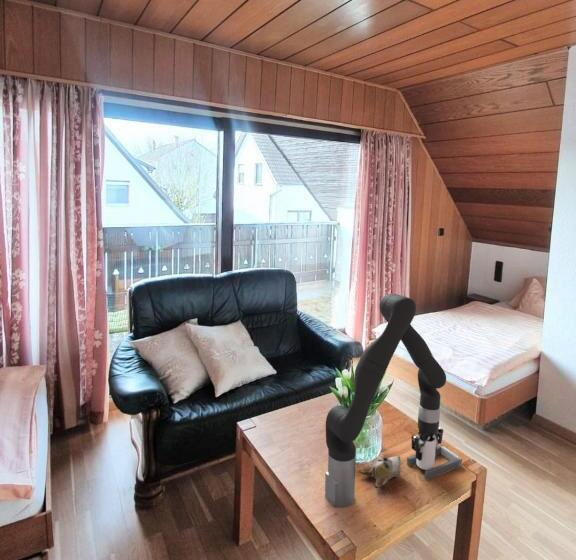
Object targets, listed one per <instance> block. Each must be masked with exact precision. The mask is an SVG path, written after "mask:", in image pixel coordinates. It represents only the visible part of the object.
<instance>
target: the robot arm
mask: <svg viewBox="0 0 576 560" xmlns="http://www.w3.org/2000/svg"><path fill="white" fill-rule="evenodd" d="M378 309H379V311H380V315H382V317H383V318H384V320H385V321H386V322H387V324H386V327H385V328H384V330H383V332H382V333H381V334H380V335H379V337H377V338H376V339H375V340H374V341H372V343H370V344H369V345H368V346H367V347H366V348H365V350H363V353H362V354H361V356H360V359H359V360H358V362H357V364H356V367H355V370H354V382H353V383H354V392H353V399H352V400H351V404H350V406H349V408H347V407H346V406H344V405H339V404H337V405H335V406H333V407H331V409H330V410H329V411H328V412H327V415H326V419H325V443H326V447H327V450H328V451H327V456H328V457H327V471H326V472H325V479H324V482H325V483H324V484H325V485H324V497H325V498H326V500H327V501H328V502H329V503H330V504H331V505H332V506H333V508H337V507H338V508H345V507H350V506H351V505H352V504H353V503H354V502H355V487H356V485H355V484H356V462H357V461H356V460H357V459H356V458H357V457H356V456H357V450H356V449H357V448H356V444H355V443H354V442H355V440H357V438H358V436H359V435H360V433H361V431H362V429H363V427H364V425H365V422H366V419H367V416H368V413H369V410H370V407H371V405H372V403H373V400H374V398H375V395H376V393H377V390H378V388H379V386H380V384H381V382H382V380H383V378H384V376H385V374H386V372H387V370H388V368H389V365H390V362H391V360H392V358H393V356H394V354H395V352H396V350H397V348H398V347H399V344H400V342H402V344H403V346H404V347H405V349H406V350H407V352H408V354H409V357H410V358H411V361H412V363H414V365H415V366H416V367H417V368H418V370H417V383H418V387H419V392H420V396H419V406H418V415H417V428H418V433H417V434H416V435H415V434H412V435H411V449H412V451H414V452H415V455H416V458H417V459H418V460H419V461H421V460H422V450H423V447H425V444H426V441H429V439H435V441H436V449H437V446H439V444H440V445H442V441H443V435H444V429H443V428H441V427H440V418H441V417H440V416H441V410H440V409H441V408H440V407H441V393H440V392H439V391H438V389H442V388H443V387H444V386H445V384H446V383H447V375H446V372H445V370H444V368H443V367H442V366H441V365H440V363H439V362H438V361H437V360H436V358H435V357H434V356H433V353H432V352H431V350H430V348H429V345H428V343H427V342H426V341H425V339H424V338H423V337H422V336H421V335H420V334H419V333H418V332H419V331H418V332H417V330H416V329H415V328H414V327H413V325H411V323H412V322H413V320H414V319H415V315H416V311H417V310H416V309H417V306H416V303H415V300H414V299H412V298H410V297H408V296H404V295H400V294H396V293H388V294H385V295H384V296H382V298H381V300H380V302H379V308H378ZM419 440H422V441H423V442H424V443H423V444H422V443H420V442H419ZM424 440H425V441H424ZM419 445H421V447H420V448H419ZM435 455H436V450H435ZM436 456H437V455H436Z"/></svg>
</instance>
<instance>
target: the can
mask: <svg viewBox="0 0 576 560" xmlns="http://www.w3.org/2000/svg"><path fill="white" fill-rule="evenodd" d="M424 441H425V440H424ZM419 442H420V443H422V444H423V443H424V442H423V441H422V440H419ZM420 447H421V445H419V448H420ZM435 450H436V441H435V439H429V441H426V444H425V447H423V450H422V460H421V461H419V460H418V459H417V462H416V465H417V467H418V468H419V469H420V470H424V471H427V470H429V469H432V468H434V467H435V461H436V456H435Z"/></svg>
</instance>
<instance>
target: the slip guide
mask: <svg viewBox="0 0 576 560" xmlns="http://www.w3.org/2000/svg"><path fill="white" fill-rule="evenodd" d="M439 455H441V456H443V457H445V458H446V459H448V460H449V461H447V462H444V463H442V464H439V465H437V466H434V468H432V469H429V470H424V480H426V481H428V480H431V479H433V478H435V477H439V476H441V475H443V474H445V473H448V472H450V471H452V470H454V469H457V468H459V467H462V463H463V459H462V458H461V456H459V455H457V454H456V453H454V452H453V451H451V450H449V449H448V448H447V447H445V446H444V445H442V444H440V445H439V444H438V446H437V449H436V455H435V457H436V456H439ZM416 462H417V458H416V454H414V455H410V456H408V457H406V465H407V466H408V467H411V466H413V465H415V464H416V465H417V463H416Z"/></svg>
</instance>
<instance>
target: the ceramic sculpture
mask: <svg viewBox="0 0 576 560" xmlns="http://www.w3.org/2000/svg"><path fill="white" fill-rule="evenodd" d="M401 463H402V462H401V455H396V456H391V457H387V456H385V457H382V458H381V459H378V460H376V461H374V462H373V464H370V465H368V466H366V467H365V468H364V469H363V470H361V471H359V474H361V475H364V476H373V478H374V479H375V485H374V488H375V489H380V488H385V486H386V485H387V484H388V482H389V481H390V480H391V479H392V478H398V477H400V476H401V474H402V473H401Z"/></svg>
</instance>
